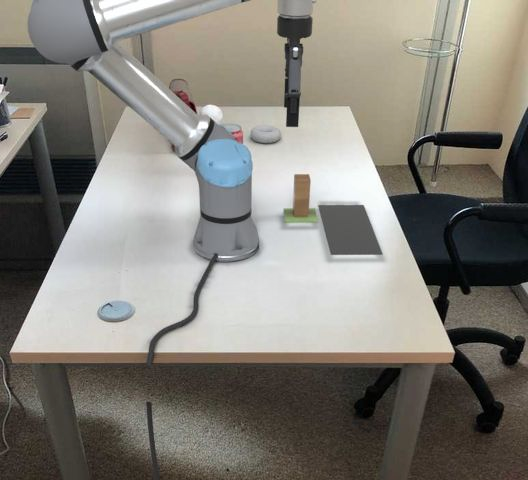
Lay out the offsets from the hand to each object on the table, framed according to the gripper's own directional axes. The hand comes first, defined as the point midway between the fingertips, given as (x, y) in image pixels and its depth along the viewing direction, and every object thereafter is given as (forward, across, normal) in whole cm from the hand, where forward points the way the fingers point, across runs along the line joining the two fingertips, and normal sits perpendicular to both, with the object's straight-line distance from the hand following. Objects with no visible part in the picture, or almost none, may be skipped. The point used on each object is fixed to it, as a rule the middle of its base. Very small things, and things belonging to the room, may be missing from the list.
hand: (290, 116), depth 150 cm
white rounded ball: (+21, +63, +23) cm, 70 cm away
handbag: (+25, +53, +31) cm, 67 cm away
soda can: (+25, +27, +15) cm, 40 cm away
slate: (+25, -10, -15) cm, 31 cm away
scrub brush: (+25, -4, -3) cm, 26 cm away
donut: (+25, +54, +5) cm, 60 cm away
